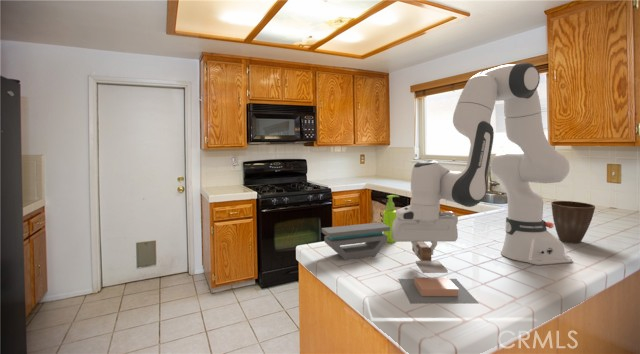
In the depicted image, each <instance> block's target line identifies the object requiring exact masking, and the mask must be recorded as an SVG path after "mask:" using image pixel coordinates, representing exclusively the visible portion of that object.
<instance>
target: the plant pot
mask: <svg viewBox="0 0 640 354" xmlns="http://www.w3.org/2000/svg"><path fill="white" fill-rule="evenodd" d="M595 210H596V206H595V205H594V204H591V203H587V202H581V201H572V200H555V201H551V212H552V219H553V224H554V228H555V231H556V234H557V238H558V239H559V240H560V241H561V242H565V243H568V244H580V243H581V242H582V240H583V239H584V237H585V235H586V234H587V231H588V229H589V228H590V225H591V222H592V220H593V217H594V213H595Z"/></svg>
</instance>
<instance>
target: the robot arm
mask: <svg viewBox="0 0 640 354" xmlns="http://www.w3.org/2000/svg"><path fill="white" fill-rule="evenodd" d="M540 76H541V75H540V71H539V69H538V68H537V67H536V66H535V65H534V64H533V63H530V62H518V63H515V64H513V63H512V64H504V65H499V66H497V67H493V68H490V69H488V70H487V69H485V70H482V71H480V72H478V73H476V74H475V75H473V76H472V77H469V79H468V80H467V82H466V84H465V85H464V87H463V89H462V92H461V93H460V95H459V98H458V100H457V103H456V105H455V109H454V112H453V115H452V116H453V117H452V124H453V127H454V128H455V130H456V131H457V132H458V133H460V134H461V135H463V136H464V137H466V138H467V139H468V140H469V142H470V147H469V153H468V156H467V163H466V168H465V169H464V171H457V170H456V171H455V170H451V169H449V168H447V167H445V166H443V165H442V164H440V163H439V162H438V161H437V160H431V159H429V160H422V161H419V162H416V163H415V164H414V165H413V167H412V170H411V177H410V191H411V199H410V204H409V205H407V206H404V207H400V208H397V209H396V210H395V211H396V216H397V217H396V218H395V219H394V221H393V226H392V238H393V239H394V240H395V241H396V242H395V243H398V242H399V243H403V242H405V243H406V242H408V243H411V246H412V245H413V247H414V248H415V253H414V255H415V256H417V255H420V254H421V253H420V252H421V250H420V249H419V248H417V247H416V245H417V242H425V243H426V242H427V243H428V242H430V243H431V244H430V246H429V247H430V248H431V249H432V250H431V256H433V255H434V251H435V249H436V247H437V246H438V242H439V243H440V242H443V243H446V242H449V243H450V242H456V241H457V240H458V237H459V236H458V235H459V233H458V222H459V221H458V220H459V217H458V215H457V214H456V213H454V212H453V211H440V207H441V204H440V203H441V202H440V201H441V200H445V201H448V202H451V203H456V204H458V205H461V206H462V207H463V206H464V207H466V208H473V207H475V206H477V205H479V204H480V203H481V202H482V201H483V199H484V198H486V197H485V196H486V195H487V191H488V189H487V188H488V181H487V179H488V171H489V168H490V170H491V172H492V174H493V176H494V177H496V178H497V179H498V180H499V182H501V184H502V186H503V187H504V190H505V193H506V196H507V198H506V199H507V216H506V217H505V238H504V243H503V246H502V249H501V251H500V254H501V255H502V256H504V257H506V258H508V259H510V260H514V261H519V262H522V263H523V262H524V263H527V264H531V265H536V266H540V265H553V264H563V263H564V264H566V263H573V258H572V257H571V256H570V255H569V254H567V253H565V251H566V250H565V246H564V245H565V244H564V243H563V241H561V240H559V238H558V237H556V236H555V235H554V234H552V232H550V231H548V228H549V229H553V228H555V224H554V222H550V221H545V220H544V219H543V216H544V215H543V214H544V201H543V198H542V197H541V195H539V194H538V193H537V192H536V191H533V189H532V188H531V187H530V184H529V183H537V184H553V183H560V182H563V181H564V180H565V179H566V178H567V176H568V175H569V172H570V162H569V160H568V159H567V157H566V156H565V155H564V154H562V153H560V152H559V151H558V150H556V149H555V148H554V147H553V146H552V144H551V143H550V142H549V140H548V139H547V136H546V135H545V130H544V125H543V120H542V119H543V117H542V107H541V100H540V96H539V93H538V87H539V84H540V81H541V78H540ZM497 101H503V103H504V104H503V105H504V106H503V110H504V111H503V115H504V122H505V123H504V124H505V132H506V133H505V134H506V137H507V139H508V140H509V141H510V142H511V143H514V144H516V145H517V146H518V147H519V148H520V150H521V151H512V150H511V151H504V152H499V153H496V154H495V155H494V156H493V157H492V160H491V155H492V148H493V145H494V144H493V143H494V137H495V136H494V134H495V133H494V132H495V131H494V127H493V126H492V124H491V121H492V120H491V119H492V115H493V112H494V109H495V105H496V102H497ZM490 161H491V163H490ZM489 166H490V167H489Z"/></svg>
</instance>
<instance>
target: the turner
mask: <svg viewBox="0 0 640 354" xmlns="http://www.w3.org/2000/svg"><path fill="white" fill-rule="evenodd" d="M411 247H412V249H411V250H412V252H413V253H414V254H415V248H414V247H413V245H412V244H411ZM416 247H417V248H419V249H420V250H421V252H420V253H421V254H420V255H416V257H417V258H418V260H415V265H416V266H417V267H418V268H419V269H420V271H421V273H423V274H448V269H447V268H446V267H445V265H443V264H442V262H440V260H432V255H431V250H432V249H431V248H430V247H431V246H430V245H428V244H427V243H426V242H417V245H416Z"/></svg>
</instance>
